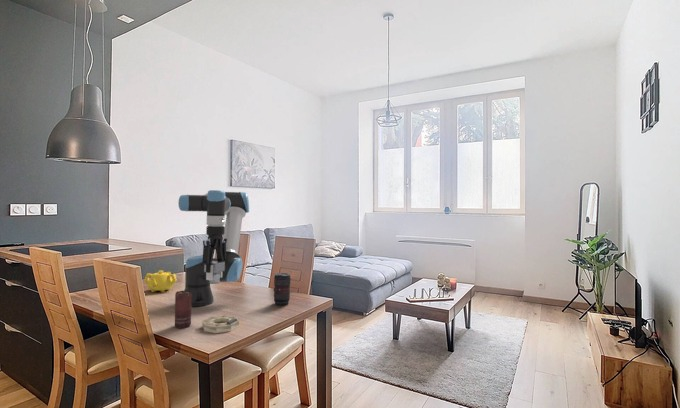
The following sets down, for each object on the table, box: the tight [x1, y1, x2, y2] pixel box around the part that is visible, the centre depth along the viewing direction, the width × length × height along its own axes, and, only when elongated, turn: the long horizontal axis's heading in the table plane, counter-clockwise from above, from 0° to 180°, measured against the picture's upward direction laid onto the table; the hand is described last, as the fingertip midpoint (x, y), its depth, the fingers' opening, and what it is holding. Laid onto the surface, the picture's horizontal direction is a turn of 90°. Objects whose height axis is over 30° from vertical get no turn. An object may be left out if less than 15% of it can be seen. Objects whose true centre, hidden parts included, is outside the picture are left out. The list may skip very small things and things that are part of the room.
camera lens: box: [273, 272, 292, 307], centre depth 181 cm, size 8×8×15 cm
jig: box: [201, 314, 240, 334], centre depth 147 cm, size 13×13×3 cm
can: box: [174, 290, 192, 329], centre depth 147 cm, size 6×6×14 cm
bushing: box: [204, 261, 225, 285], centre depth 157 cm, size 6×6×9 cm
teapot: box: [143, 270, 178, 294], centre depth 201 cm, size 20×18×11 cm
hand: (214, 278), depth 157 cm, fingers closed on bushing, 6 cm apart
